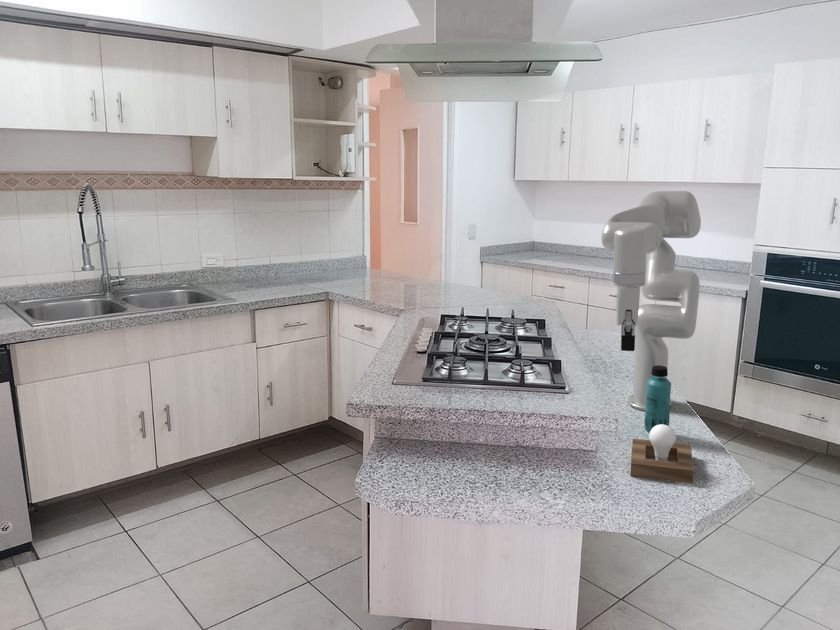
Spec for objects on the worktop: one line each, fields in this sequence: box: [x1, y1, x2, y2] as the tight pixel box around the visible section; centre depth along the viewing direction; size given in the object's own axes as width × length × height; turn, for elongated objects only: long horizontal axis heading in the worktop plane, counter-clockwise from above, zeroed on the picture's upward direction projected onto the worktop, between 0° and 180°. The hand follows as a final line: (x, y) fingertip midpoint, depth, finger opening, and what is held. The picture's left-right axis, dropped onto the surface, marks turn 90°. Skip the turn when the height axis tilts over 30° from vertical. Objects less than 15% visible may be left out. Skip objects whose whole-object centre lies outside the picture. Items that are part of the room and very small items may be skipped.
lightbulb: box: [648, 424, 677, 461], centre depth 158 cm, size 6×6×11 cm
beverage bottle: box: [643, 365, 672, 434], centre depth 173 cm, size 6×7×20 cm
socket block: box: [630, 438, 694, 484], centre depth 158 cm, size 14×14×4 cm
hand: (627, 344), depth 161 cm, fingers open, 9 cm apart
